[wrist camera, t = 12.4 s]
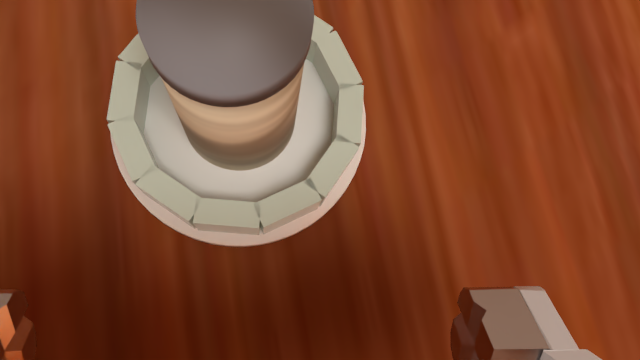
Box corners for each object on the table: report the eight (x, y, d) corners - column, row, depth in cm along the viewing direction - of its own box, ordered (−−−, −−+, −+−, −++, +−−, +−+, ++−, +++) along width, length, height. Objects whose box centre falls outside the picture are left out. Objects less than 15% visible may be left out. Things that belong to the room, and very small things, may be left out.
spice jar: (268, 191, 24) (269, 123, 16) (160, 143, 25) (102, 48, 16) (315, 91, 26) (341, -23, 17) (212, 46, 26) (186, -92, 17)
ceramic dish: (272, 298, 24) (273, 296, 22) (61, 152, 25) (36, 132, 22) (407, 98, 27) (423, 74, 24) (214, -30, 27) (209, -68, 25)
